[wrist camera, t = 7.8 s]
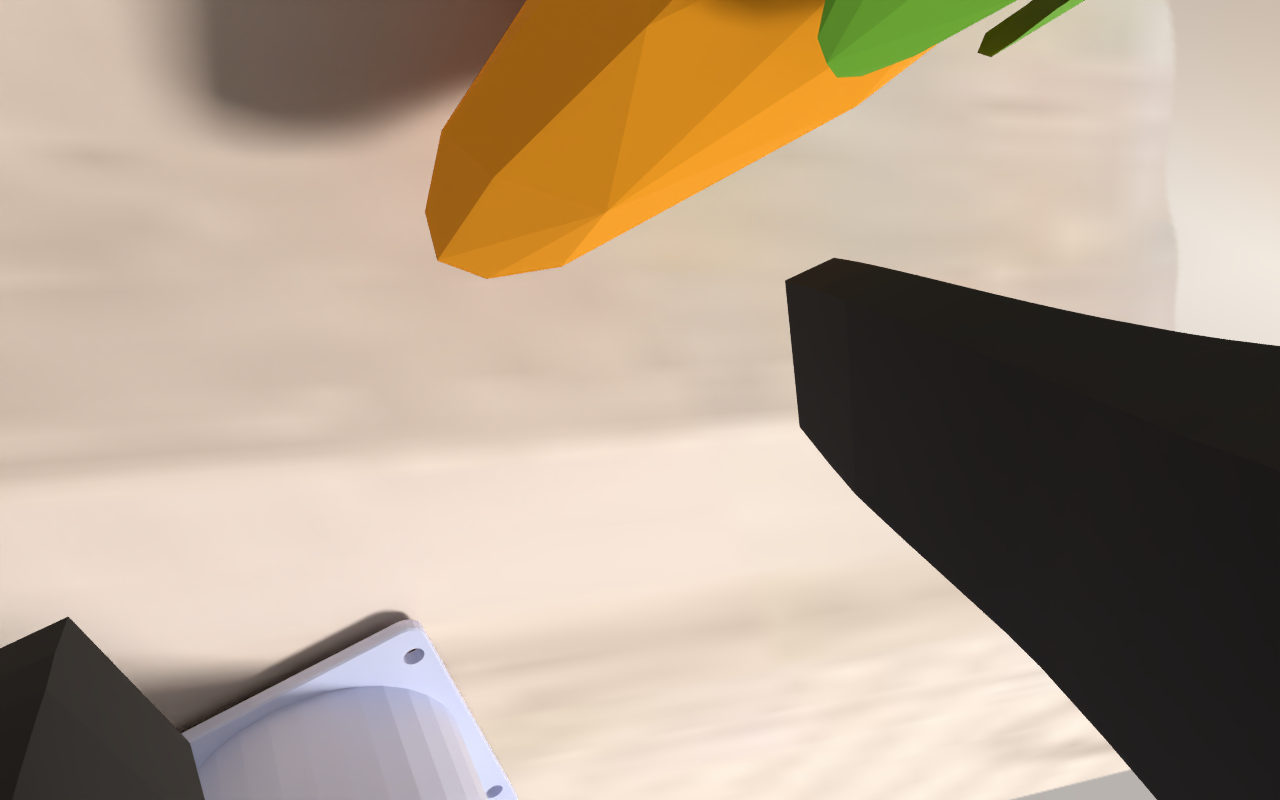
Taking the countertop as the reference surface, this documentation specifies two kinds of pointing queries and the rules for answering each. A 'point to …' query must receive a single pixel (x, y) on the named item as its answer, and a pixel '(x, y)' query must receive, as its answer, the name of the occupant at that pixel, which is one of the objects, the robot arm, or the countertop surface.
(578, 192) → the corn
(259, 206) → the countertop surface
